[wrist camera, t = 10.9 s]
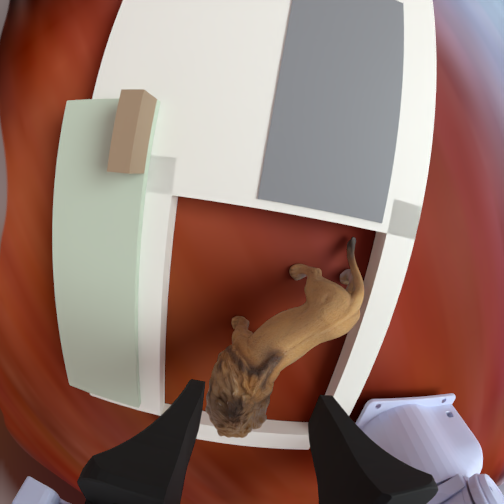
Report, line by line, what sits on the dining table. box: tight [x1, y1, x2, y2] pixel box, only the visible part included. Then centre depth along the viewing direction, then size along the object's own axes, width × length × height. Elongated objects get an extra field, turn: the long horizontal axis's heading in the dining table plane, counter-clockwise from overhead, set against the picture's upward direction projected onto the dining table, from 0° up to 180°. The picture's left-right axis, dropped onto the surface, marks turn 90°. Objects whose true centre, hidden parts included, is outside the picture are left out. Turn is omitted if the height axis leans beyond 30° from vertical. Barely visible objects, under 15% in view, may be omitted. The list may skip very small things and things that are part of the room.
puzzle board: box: [90, 0, 436, 450], centre depth 16 cm, size 20×36×2 cm, turn 171°
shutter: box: [52, 89, 160, 408], centre depth 15 cm, size 6×20×3 cm, turn 171°
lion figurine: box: [206, 237, 364, 438], centre depth 15 cm, size 12×4×7 cm, turn 140°
